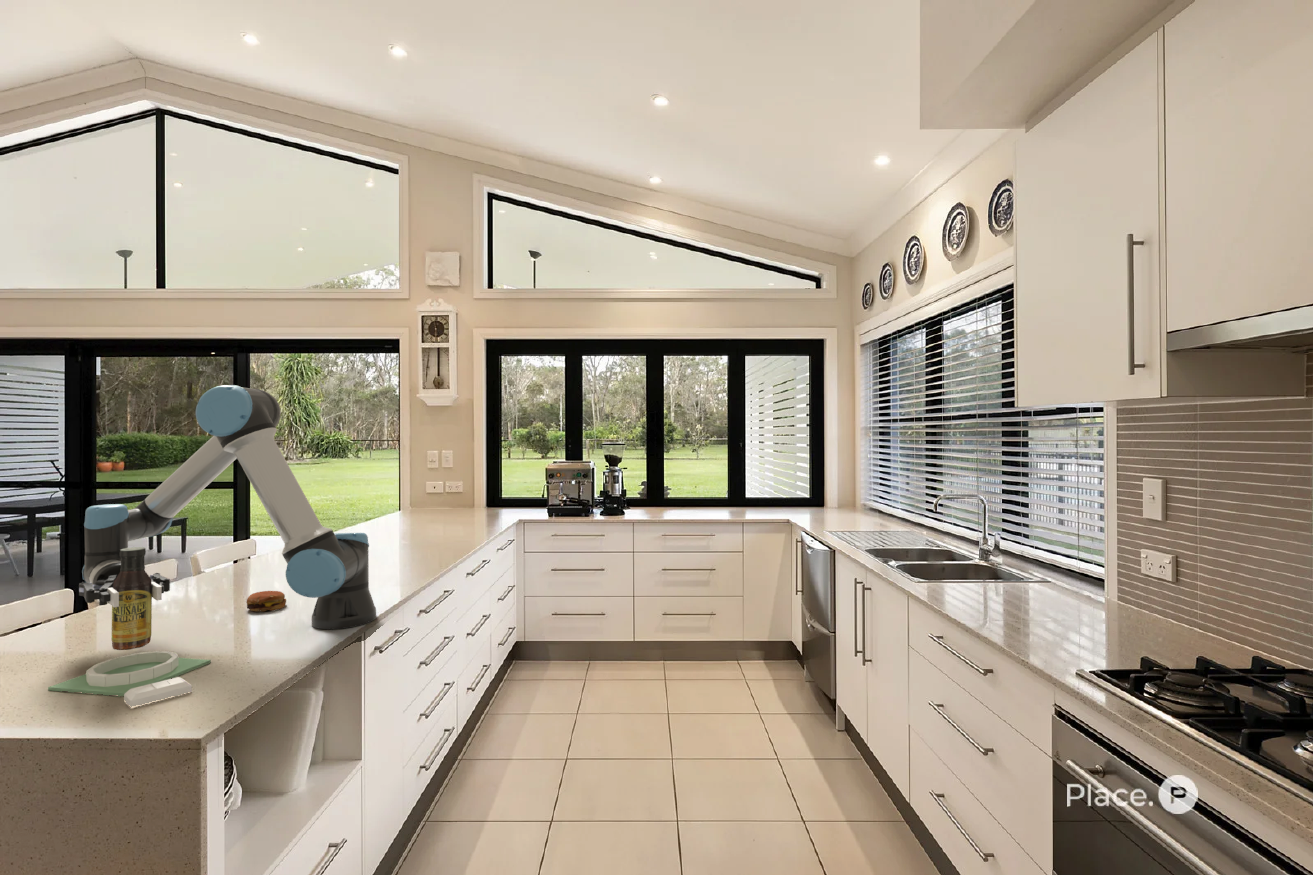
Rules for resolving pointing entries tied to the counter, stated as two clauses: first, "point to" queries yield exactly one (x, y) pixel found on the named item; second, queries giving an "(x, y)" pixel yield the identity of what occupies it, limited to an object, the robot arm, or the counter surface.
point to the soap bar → (157, 691)
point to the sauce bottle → (132, 602)
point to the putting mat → (124, 688)
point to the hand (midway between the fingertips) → (138, 596)
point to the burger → (266, 601)
